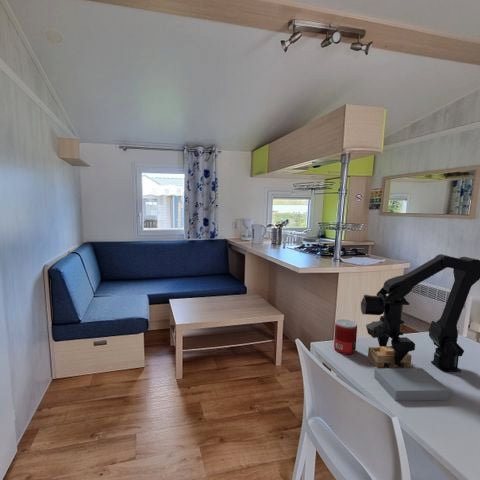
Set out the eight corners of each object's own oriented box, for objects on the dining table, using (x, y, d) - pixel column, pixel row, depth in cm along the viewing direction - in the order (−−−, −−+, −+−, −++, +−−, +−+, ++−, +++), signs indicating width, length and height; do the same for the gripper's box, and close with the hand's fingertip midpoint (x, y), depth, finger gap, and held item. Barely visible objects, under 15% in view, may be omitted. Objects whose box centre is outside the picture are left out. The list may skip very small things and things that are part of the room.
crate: (393, 351, 109) (393, 346, 108) (399, 356, 105) (399, 351, 105) (379, 351, 108) (380, 346, 108) (385, 356, 105) (385, 351, 104)
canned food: (357, 356, 112) (359, 327, 111) (334, 353, 113) (336, 325, 112) (353, 346, 119) (355, 320, 118) (332, 344, 121) (334, 318, 120)
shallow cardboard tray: (399, 358, 111) (400, 347, 110) (410, 368, 104) (411, 355, 104) (367, 358, 110) (368, 347, 109) (377, 368, 103) (377, 355, 103)
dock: (421, 376, 98) (422, 368, 98) (448, 399, 86) (449, 390, 86) (374, 377, 97) (374, 368, 97) (395, 400, 86) (396, 390, 85)
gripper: (358, 306, 114) (355, 346, 116) (384, 325, 95) (381, 372, 97) (386, 307, 115) (383, 346, 116) (418, 325, 96) (414, 372, 98)
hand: (389, 358), depth 107 cm, fingers open, 9 cm apart
